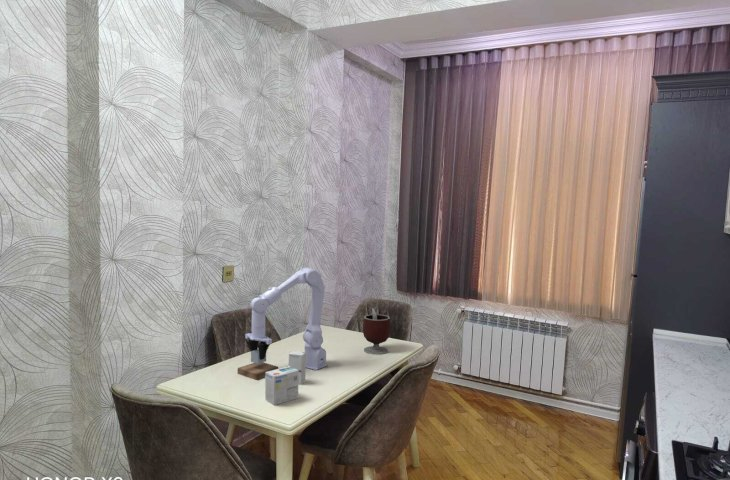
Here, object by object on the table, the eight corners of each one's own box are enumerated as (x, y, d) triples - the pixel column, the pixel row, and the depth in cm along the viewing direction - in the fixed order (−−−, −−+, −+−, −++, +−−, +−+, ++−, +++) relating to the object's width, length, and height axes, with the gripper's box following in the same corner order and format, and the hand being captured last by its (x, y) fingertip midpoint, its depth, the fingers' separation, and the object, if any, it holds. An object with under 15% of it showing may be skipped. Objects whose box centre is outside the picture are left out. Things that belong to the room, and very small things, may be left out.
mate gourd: (393, 354, 234) (394, 314, 232) (366, 355, 230) (367, 314, 229) (384, 345, 249) (385, 307, 247) (358, 346, 245) (359, 308, 244)
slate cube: (266, 361, 203) (266, 350, 203) (258, 363, 199) (258, 353, 199) (259, 359, 205) (259, 348, 205) (250, 361, 202) (250, 351, 202)
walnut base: (278, 373, 204) (278, 366, 204) (256, 381, 194) (256, 374, 194) (259, 367, 211) (259, 361, 211) (237, 374, 201) (237, 368, 201)
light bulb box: (288, 393, 182) (289, 365, 181) (299, 398, 177) (299, 369, 176) (264, 400, 174) (264, 371, 174) (274, 405, 169) (274, 376, 169)
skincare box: (287, 383, 192) (287, 353, 191) (292, 379, 196) (292, 350, 195) (301, 385, 190) (301, 355, 189) (306, 381, 194) (306, 352, 193)
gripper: (239, 325, 202) (239, 356, 203) (262, 330, 194) (262, 363, 195) (252, 322, 208) (252, 352, 209) (275, 327, 199) (275, 359, 200)
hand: (258, 357), depth 202 cm, fingers closed on slate cube, 4 cm apart
